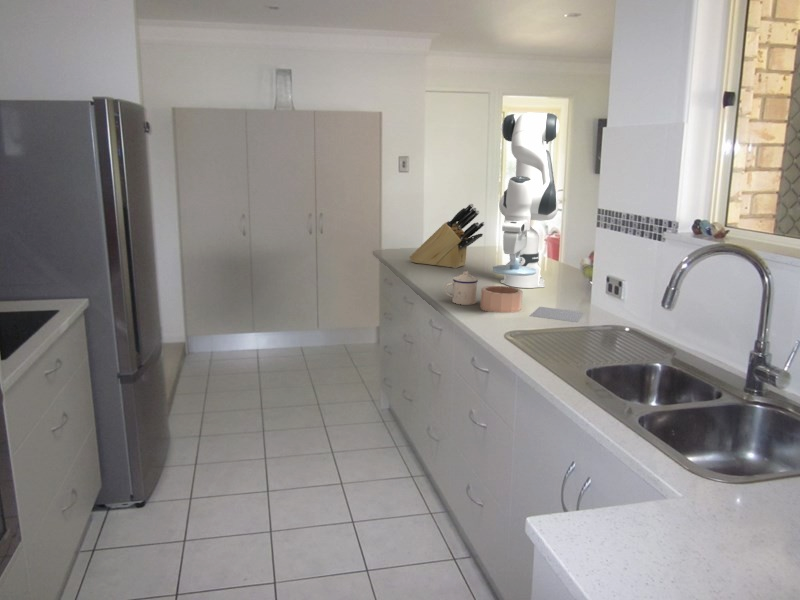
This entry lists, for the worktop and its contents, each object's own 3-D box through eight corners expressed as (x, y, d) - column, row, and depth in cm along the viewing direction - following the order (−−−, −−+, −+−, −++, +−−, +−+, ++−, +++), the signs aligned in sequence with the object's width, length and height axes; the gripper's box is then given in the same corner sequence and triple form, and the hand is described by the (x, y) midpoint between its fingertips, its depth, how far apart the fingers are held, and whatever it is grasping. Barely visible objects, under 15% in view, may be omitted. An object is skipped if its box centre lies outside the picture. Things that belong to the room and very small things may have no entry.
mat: (539, 308, 235) (539, 306, 235) (584, 313, 229) (584, 312, 229) (529, 317, 221) (529, 315, 221) (576, 323, 215) (577, 322, 215)
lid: (498, 266, 238) (499, 252, 236) (539, 270, 232) (540, 256, 231) (487, 272, 224) (488, 258, 223) (530, 277, 218) (532, 262, 217)
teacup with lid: (473, 299, 245) (475, 269, 243) (478, 305, 237) (480, 274, 234) (442, 299, 244) (443, 269, 241) (446, 305, 235) (448, 273, 233)
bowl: (487, 302, 241) (488, 284, 240) (524, 307, 236) (526, 288, 234) (475, 310, 229) (477, 291, 227) (514, 315, 223) (516, 295, 222)
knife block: (474, 271, 306) (478, 205, 300) (408, 263, 323) (411, 200, 316) (483, 267, 316) (487, 204, 309) (419, 260, 332) (421, 199, 326)
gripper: (515, 220, 235) (512, 258, 238) (501, 226, 216) (498, 267, 220) (532, 222, 232) (529, 260, 235) (519, 227, 214) (516, 269, 217)
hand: (514, 263), depth 227 cm, fingers closed on lid, 3 cm apart
